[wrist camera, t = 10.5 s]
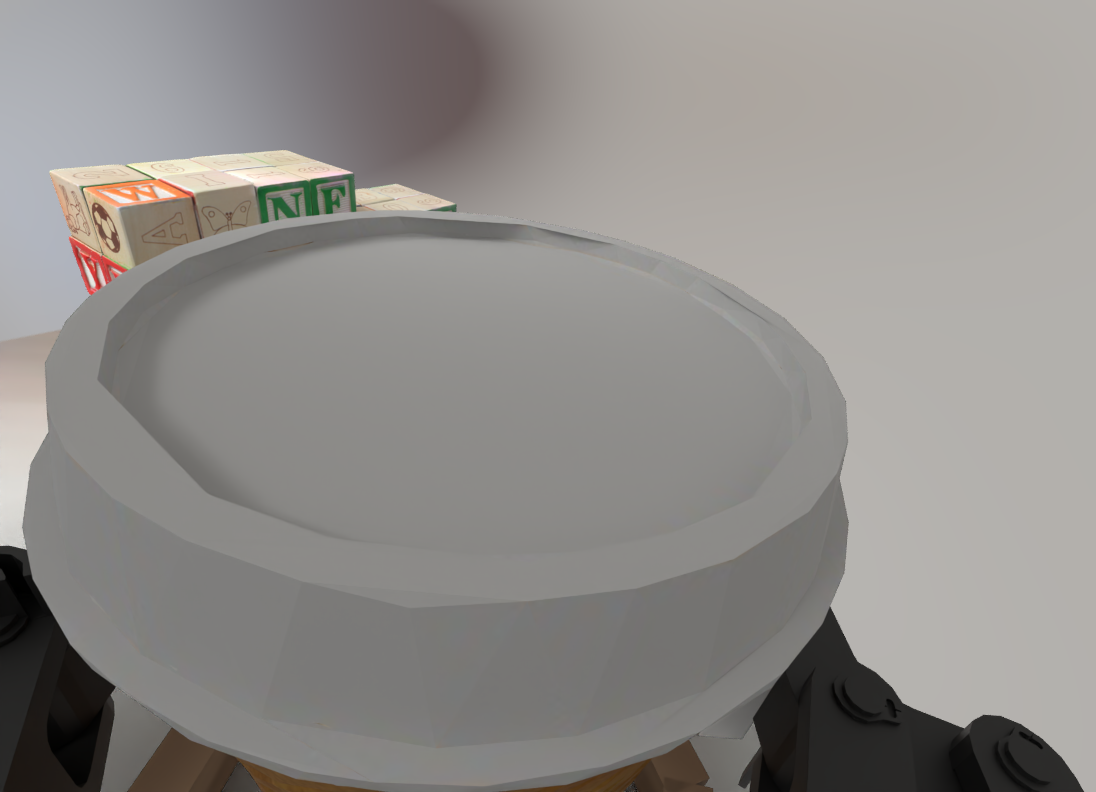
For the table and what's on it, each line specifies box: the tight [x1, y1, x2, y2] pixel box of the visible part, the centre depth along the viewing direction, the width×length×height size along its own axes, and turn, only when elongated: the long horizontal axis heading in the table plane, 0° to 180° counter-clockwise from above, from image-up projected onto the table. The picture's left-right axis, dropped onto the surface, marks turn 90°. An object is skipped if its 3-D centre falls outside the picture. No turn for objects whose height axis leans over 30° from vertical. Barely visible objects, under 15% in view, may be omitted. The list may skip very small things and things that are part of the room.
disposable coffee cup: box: [22, 210, 849, 792], centre depth 10 cm, size 10×10×12 cm
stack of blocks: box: [50, 150, 456, 295], centre depth 35 cm, size 21×6×12 cm, turn 146°
